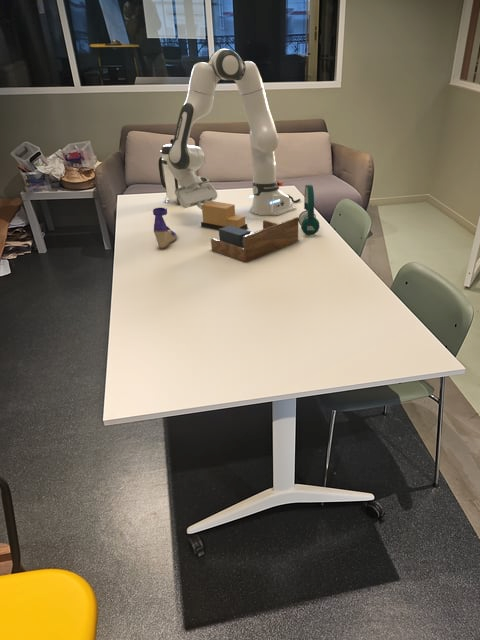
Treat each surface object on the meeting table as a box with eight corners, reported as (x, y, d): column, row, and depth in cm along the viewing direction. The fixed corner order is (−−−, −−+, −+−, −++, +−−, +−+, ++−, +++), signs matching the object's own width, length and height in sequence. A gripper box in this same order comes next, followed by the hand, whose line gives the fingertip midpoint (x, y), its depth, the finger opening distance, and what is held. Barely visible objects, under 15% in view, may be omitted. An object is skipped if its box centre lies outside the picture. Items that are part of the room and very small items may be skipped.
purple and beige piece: (181, 234, 222) (176, 199, 214) (167, 250, 206) (162, 213, 198) (163, 233, 223) (158, 198, 214) (148, 249, 207) (142, 212, 198)
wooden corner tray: (211, 250, 206) (209, 226, 200) (264, 231, 226) (264, 208, 220) (245, 262, 195) (244, 236, 190) (298, 241, 215) (298, 217, 210)
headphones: (315, 226, 232) (316, 180, 220) (319, 237, 220) (321, 189, 208) (297, 226, 231) (298, 181, 220) (301, 237, 219) (301, 189, 208)
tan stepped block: (201, 226, 231) (199, 204, 225) (211, 222, 237) (209, 200, 231) (237, 233, 223) (236, 210, 217) (247, 228, 229) (246, 206, 223)
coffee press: (195, 196, 273) (189, 136, 255) (192, 205, 260) (185, 141, 242) (163, 197, 272) (154, 136, 255) (158, 205, 259) (149, 141, 242)
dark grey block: (218, 246, 209) (216, 228, 205) (230, 242, 214) (229, 224, 209) (252, 258, 199) (251, 239, 195) (264, 253, 203) (263, 234, 199)
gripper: (175, 185, 223) (192, 211, 224) (209, 177, 236) (225, 202, 236) (170, 194, 228) (187, 219, 229) (204, 185, 241) (220, 210, 241)
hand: (207, 210), depth 233 cm, fingers closed
